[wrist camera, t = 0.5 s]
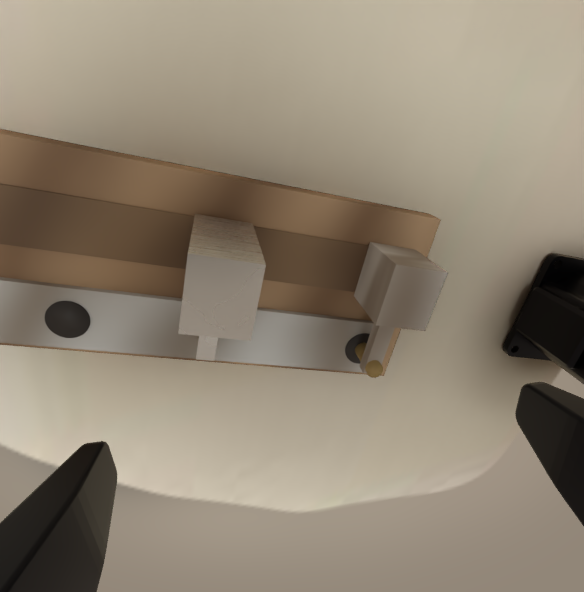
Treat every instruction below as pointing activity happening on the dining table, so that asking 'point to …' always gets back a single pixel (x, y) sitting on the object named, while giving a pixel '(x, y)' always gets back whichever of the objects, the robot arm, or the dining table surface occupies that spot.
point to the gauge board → (173, 258)
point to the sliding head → (221, 283)
